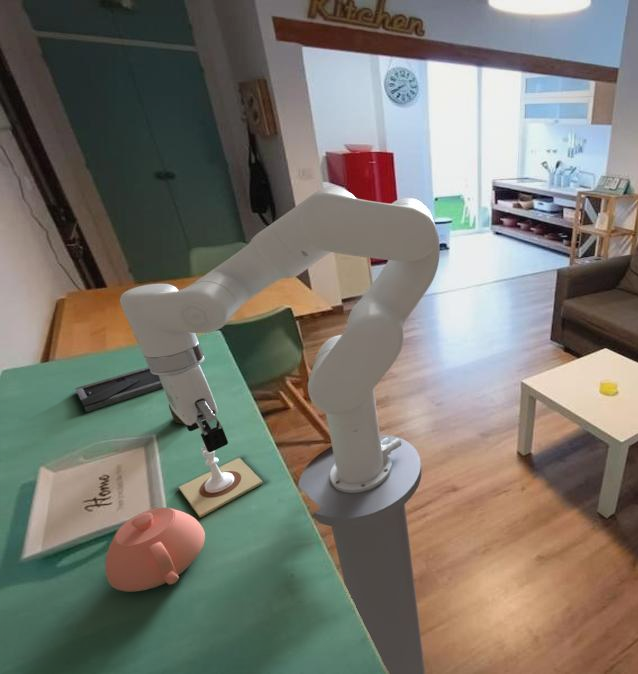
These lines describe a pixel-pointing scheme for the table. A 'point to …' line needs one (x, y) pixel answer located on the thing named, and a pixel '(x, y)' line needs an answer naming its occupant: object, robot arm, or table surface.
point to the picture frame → (118, 389)
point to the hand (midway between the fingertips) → (208, 437)
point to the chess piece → (216, 474)
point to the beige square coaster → (211, 501)
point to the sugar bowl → (153, 549)
